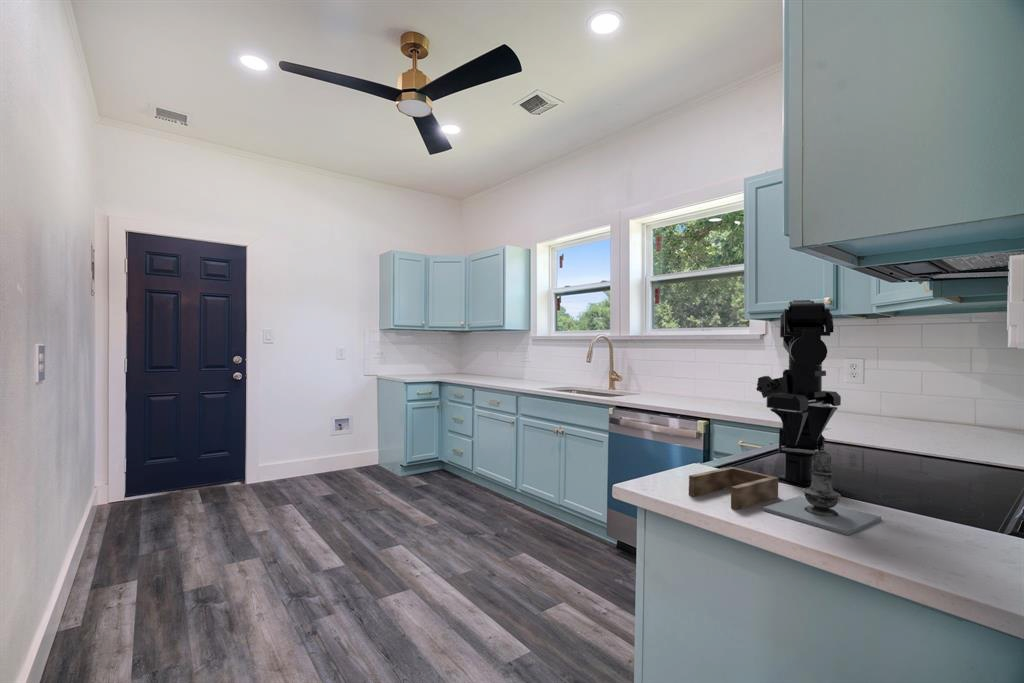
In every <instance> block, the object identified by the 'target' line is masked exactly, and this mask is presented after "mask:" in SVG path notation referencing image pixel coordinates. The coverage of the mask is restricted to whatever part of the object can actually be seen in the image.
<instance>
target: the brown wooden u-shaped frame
mask: <svg viewBox="0 0 1024 683" xmlns="http://www.w3.org/2000/svg"><path fill="white" fill-rule="evenodd" d="M729 487H730V488H731V489H730V488H729ZM725 488H726V489H728V488H729V489H730V508H731V509H733V510H737V511H738V510H741V509H743V508H748V507H751V506H754V505H758V504H760V503H764V502H767V501H770V499H771V500H774V499H776V497H777V498H779V478H778V476H773V475H768V474H764V473H761V472H760V473H759V472H756V471H751V470H746V469H742V468H738V467H734V466H729V467H728V466H727V467H723V468H719V469H713V470H710V471H704V472H700V473H695V474H691V475H688V496H690V495H691V497H697V496H702V495H705V494H709V492H710V493H713V492H717V490H718V491H722V490H725ZM721 489H722V490H721ZM773 498H774V499H773Z"/></svg>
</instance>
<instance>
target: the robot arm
mask: <svg viewBox="0 0 1024 683" xmlns="http://www.w3.org/2000/svg"><path fill="white" fill-rule="evenodd" d="M833 318H834V317H833V314H832V313H831V309H829V308H828V307H827V308H826V304H825V303H824V302H814V300H811V299H799V300H798V299H797V300H795V299H794V300H792V301H789V302H788V305H787V308H784V309H783V312H782V314H781V315H780V322H779V324H780V325H779V337H780V338H782V346H783V348H784V349H785V351H787V353H788V369H784V370H783V371H782V376H781V377H778V378H773V379H772V378H771V376H770V375H764V376H760V377H758V378H757V383H756V385H757V387H756V391H757V392H759V393H761V395H762V396H761V397H762V398H763V399H766V408H769V409H770V411H771V412H772V413H774V414H776V415H777V416H778V417H779V418H780V420H781V423H782V427H778V454H783V455H784V474H782V475H778V476H777V477H778V480H779V479H780V480H783V481H788V482H791V483H792V482H793V483H796V484H801V485H806V486H809V485H811V483H812V472H811V471H810V470H811V469H813V454H814V453H815V452H818V451H821V449H820V448H821V447H823V448H824V449H825V440H826V438H825V437H824V435H823V432H824V430H825V429H826V427H827V425H828V423H829V421H830V419H831V418H832V417H833V416H834V413H835V412H836V411H837V410H838V406H841V401H842V398H841V395H839V393H838V392H837V391H833V390H823V389H822V385H823V383H822V382H823V377H825V376H827V371H826V370H823V362H824V361H825V360H826V358H827V355H828V348H827V345H826V343H825V341H823V339H822V337H831V333H834V328H835V327H834V319H833Z"/></svg>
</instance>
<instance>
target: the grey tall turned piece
mask: <svg viewBox="0 0 1024 683" xmlns="http://www.w3.org/2000/svg"><path fill="white" fill-rule="evenodd" d="M820 449H821V451H818V452H815V453H814V454H813V469H811V470H810V471H811V472H812V483H811V484H810V486H809V487H805V488H803V489H802V492H803V493H804V497H806V499H807V501H808V502H809V503H810V504H812V505H810V506H807V507H805V508H804V509H805V511H807V512H809V513H812V514H815V515H819V516H825V517H837V516H838V515H839V514H838V513H837V512H836V511H835V510H833V509H831V508H832V507H834V506H836V505H837V504H838V502H839V501H840V500H839V499H840V498H841V494H840V493H839V492H837V491H835V490H834V488H833V484H832V480H833V479H832V475H834V471H832V455H830V453H828V452H826V451H825V447H824V448H823V447H821V448H820Z"/></svg>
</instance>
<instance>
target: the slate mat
mask: <svg viewBox="0 0 1024 683" xmlns="http://www.w3.org/2000/svg"><path fill="white" fill-rule="evenodd" d="M810 505H812V504H810V503H809V502H808V501H807V499H806V497H805V496H802V495H798V496H795V497H791V498H789V499H788V498H787V499H784V500H781V501H779V502H778V501H777V502H775V503H772V504H769V505H765V506H763V507H762V512H763V511H764V512H768V513H770V514H773V515H777V516H780V517H784V518H788V519H791V520H794V521H798V522H801V523H805V524H808V525H811V526H814V527H817V528H821V529H825V530H828V531H831V532H835V533H837V534H838V533H839V534H843V535H845V536H850V535H853V534H854V533H856V532H859V531H861V530H863V529H866V528H868V527H869V526H872V525H874V524H876V523H878V522H880V521H881V520H882V519H883V518H882V516H881V515H877V514H872V513H869V512H865V511H861V510H857V509H852V508H849V507H845V506H840V505H836V506H834V507H832V508H831V509H833V510H835V511H836V512H837V513H838V514H839V515H838V516H837V517H825V516H819V515H815V514H812V513H809V512H807V511H805V509H804V508H805V507H807V506H810Z"/></svg>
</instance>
